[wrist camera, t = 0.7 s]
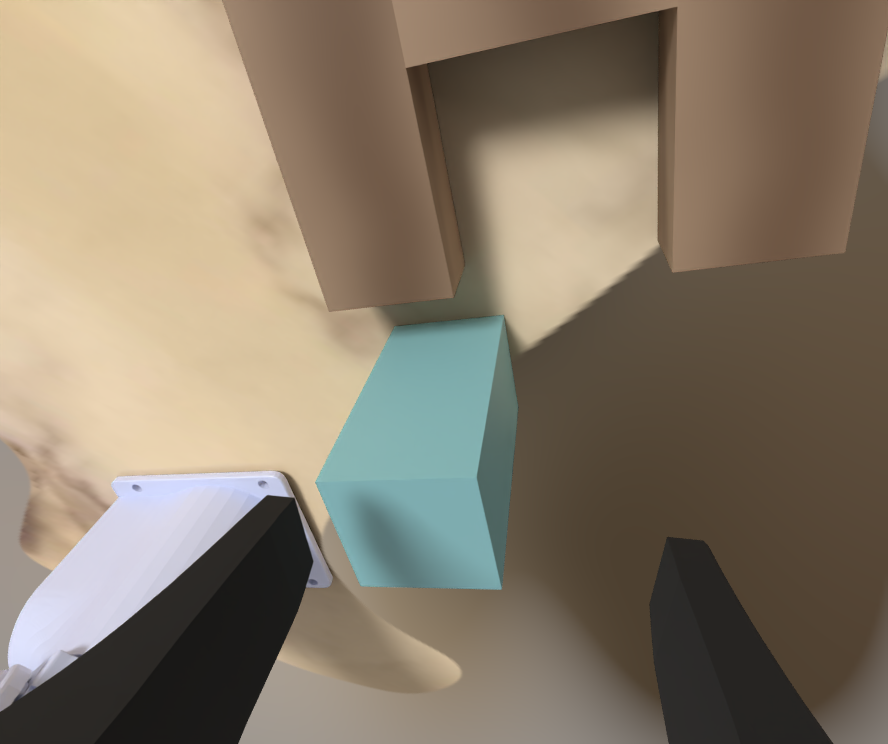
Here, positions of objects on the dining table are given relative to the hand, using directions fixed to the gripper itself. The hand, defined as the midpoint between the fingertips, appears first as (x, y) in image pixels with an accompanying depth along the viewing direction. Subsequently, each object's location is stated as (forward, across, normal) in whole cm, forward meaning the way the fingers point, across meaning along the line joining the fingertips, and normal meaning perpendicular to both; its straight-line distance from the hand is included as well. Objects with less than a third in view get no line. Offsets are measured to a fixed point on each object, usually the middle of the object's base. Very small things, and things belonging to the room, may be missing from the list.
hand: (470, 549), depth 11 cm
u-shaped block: (+10, -1, -7) cm, 12 cm away
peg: (+10, +2, +2) cm, 10 cm away
